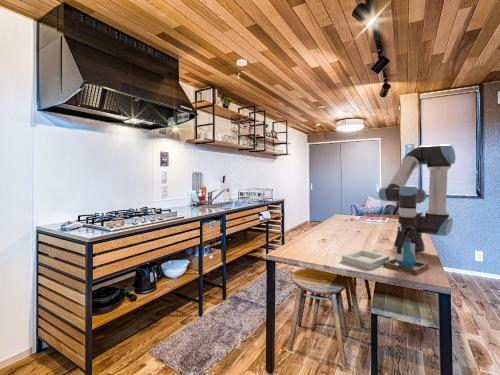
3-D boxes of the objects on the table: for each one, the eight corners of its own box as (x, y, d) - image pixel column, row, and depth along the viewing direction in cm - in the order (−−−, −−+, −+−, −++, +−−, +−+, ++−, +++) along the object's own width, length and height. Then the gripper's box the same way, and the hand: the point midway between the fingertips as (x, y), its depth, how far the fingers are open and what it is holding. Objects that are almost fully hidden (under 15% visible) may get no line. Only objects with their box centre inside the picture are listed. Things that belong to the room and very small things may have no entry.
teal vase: (408, 263, 138) (409, 235, 137) (420, 270, 129) (421, 240, 128) (391, 264, 138) (392, 236, 137) (402, 270, 129) (403, 240, 128)
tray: (361, 254, 155) (361, 249, 154) (389, 261, 142) (389, 255, 142) (341, 261, 143) (341, 255, 142) (370, 269, 130) (370, 263, 130)
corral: (397, 260, 144) (397, 256, 144) (428, 268, 132) (428, 264, 132) (383, 266, 135) (383, 262, 135) (415, 275, 123) (415, 270, 123)
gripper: (409, 213, 142) (408, 251, 143) (387, 217, 127) (386, 260, 128) (425, 215, 136) (423, 255, 137) (404, 219, 121) (402, 264, 122)
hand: (405, 257), depth 133 cm, fingers open, 13 cm apart
